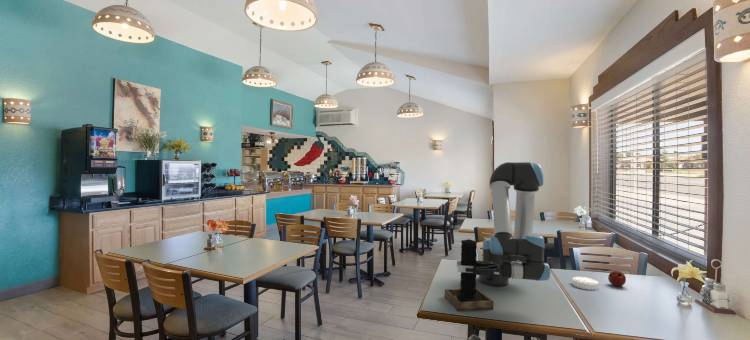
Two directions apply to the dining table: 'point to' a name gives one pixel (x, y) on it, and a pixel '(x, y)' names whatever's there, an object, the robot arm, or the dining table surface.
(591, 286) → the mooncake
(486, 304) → the tray
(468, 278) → the handle grip
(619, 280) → the apple
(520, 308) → the dining table surface
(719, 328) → the dining table surface
